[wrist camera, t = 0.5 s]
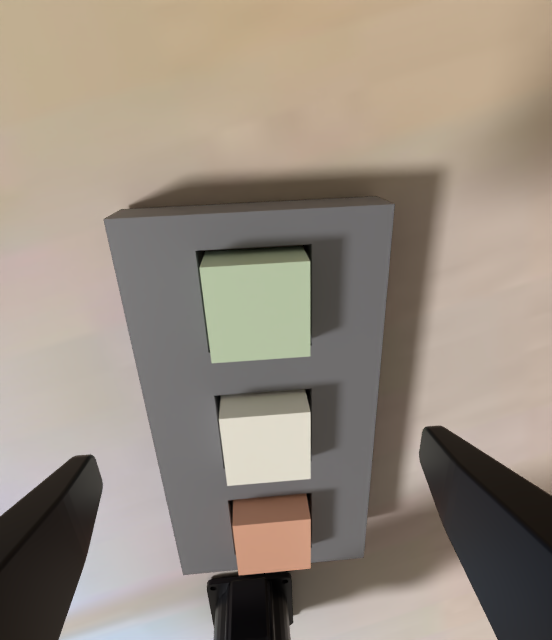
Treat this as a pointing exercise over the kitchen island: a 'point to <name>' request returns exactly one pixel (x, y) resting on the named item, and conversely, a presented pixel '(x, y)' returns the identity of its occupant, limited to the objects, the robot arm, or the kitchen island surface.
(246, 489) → the button panel
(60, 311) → the kitchen island surface
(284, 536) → the terracotta button
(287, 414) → the cream button
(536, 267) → the kitchen island surface
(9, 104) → the kitchen island surface
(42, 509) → the robot arm
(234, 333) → the sage button
